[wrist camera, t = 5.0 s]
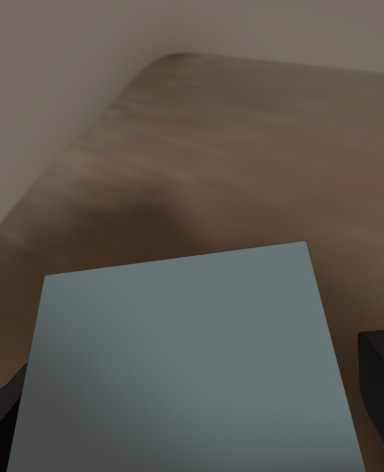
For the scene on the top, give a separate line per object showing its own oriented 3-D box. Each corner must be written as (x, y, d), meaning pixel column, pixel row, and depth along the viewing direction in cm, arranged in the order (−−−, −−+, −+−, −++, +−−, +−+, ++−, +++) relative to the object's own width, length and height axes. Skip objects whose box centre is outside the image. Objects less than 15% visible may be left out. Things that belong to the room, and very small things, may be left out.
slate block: (281, 341, 13) (305, 241, 6) (309, 493, 11) (422, 693, 3) (165, 351, 14) (45, 275, 6) (166, 496, 11) (-31, 663, 4)
